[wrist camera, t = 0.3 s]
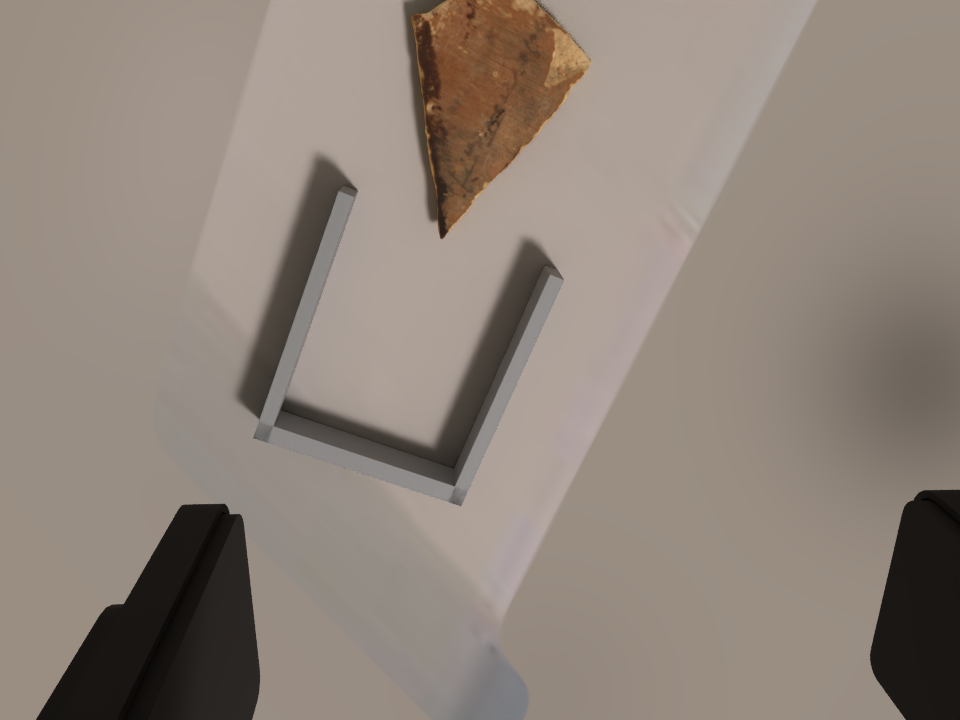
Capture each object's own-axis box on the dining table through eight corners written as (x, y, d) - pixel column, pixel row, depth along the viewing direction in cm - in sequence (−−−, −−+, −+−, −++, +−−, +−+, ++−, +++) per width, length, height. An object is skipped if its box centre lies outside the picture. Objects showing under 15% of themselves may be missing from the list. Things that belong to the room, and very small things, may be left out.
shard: (441, 234, 39) (441, 241, 38) (322, 127, 37) (316, 130, 36) (593, 65, 37) (600, 65, 35) (475, -58, 35) (476, -65, 33)
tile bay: (343, 185, 38) (338, 191, 36) (557, 270, 40) (564, 280, 38) (261, 421, 42) (253, 438, 40) (459, 487, 44) (460, 506, 42)
